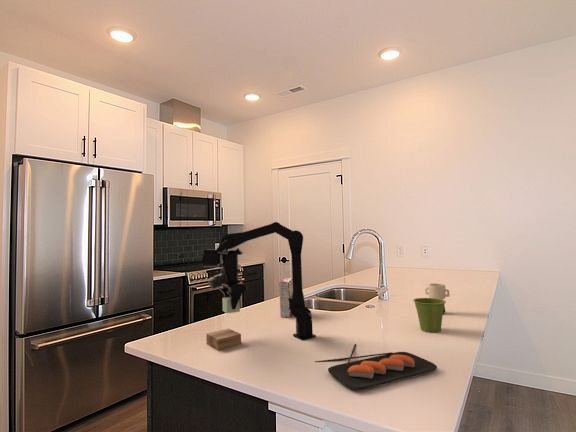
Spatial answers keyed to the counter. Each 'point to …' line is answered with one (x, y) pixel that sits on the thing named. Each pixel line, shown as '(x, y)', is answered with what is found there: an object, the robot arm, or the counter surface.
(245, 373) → the counter surface
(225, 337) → the walnut block
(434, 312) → the plant pot
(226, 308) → the green cube
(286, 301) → the candy bar box
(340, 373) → the sushi plate
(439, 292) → the character mug
